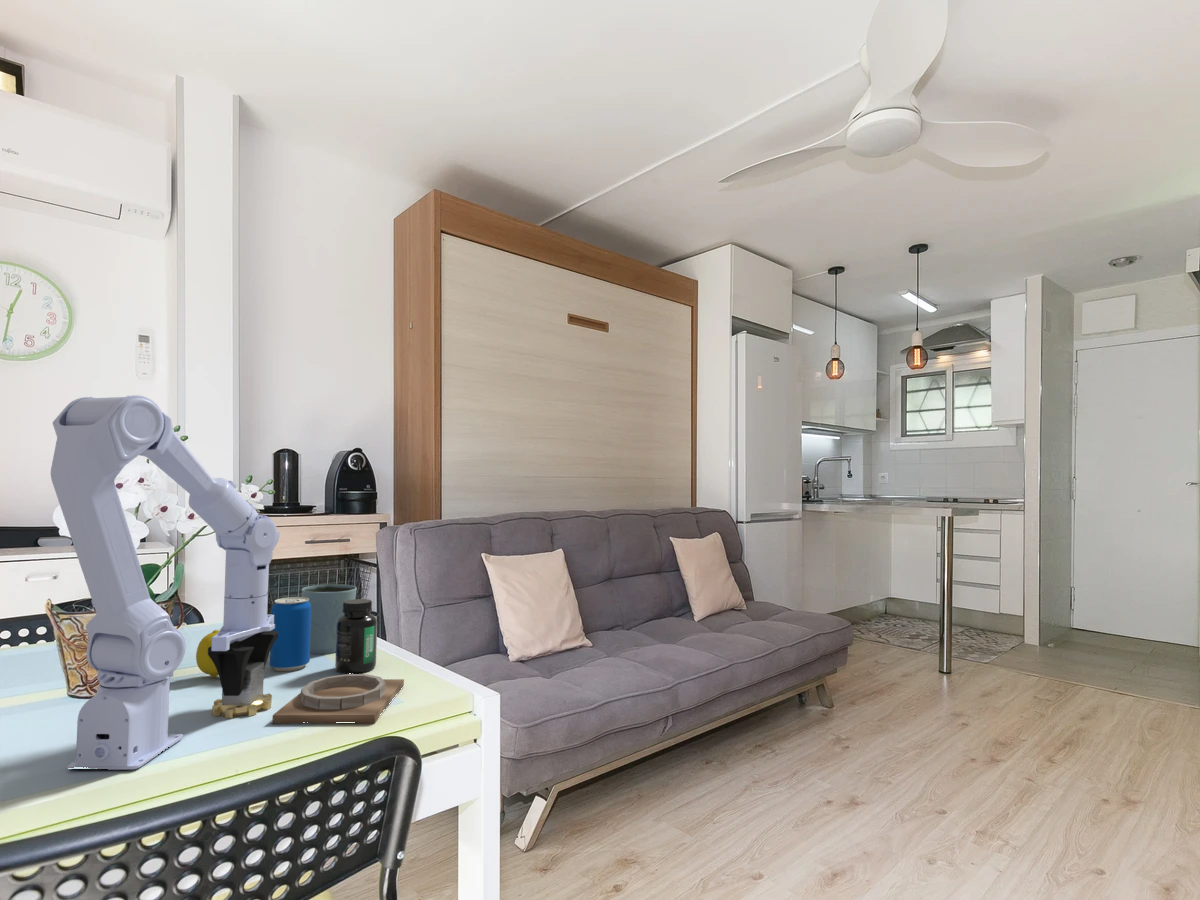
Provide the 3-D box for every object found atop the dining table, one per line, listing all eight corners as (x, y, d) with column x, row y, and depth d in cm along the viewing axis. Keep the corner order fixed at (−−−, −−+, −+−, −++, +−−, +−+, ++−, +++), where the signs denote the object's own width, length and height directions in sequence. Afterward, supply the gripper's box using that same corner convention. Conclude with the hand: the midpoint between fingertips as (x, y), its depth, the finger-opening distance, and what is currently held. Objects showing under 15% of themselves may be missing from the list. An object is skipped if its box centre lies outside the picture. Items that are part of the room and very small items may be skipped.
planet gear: (256, 718, 93) (258, 674, 93) (200, 718, 93) (202, 674, 93) (281, 699, 101) (282, 658, 101) (229, 699, 100) (230, 658, 101)
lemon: (215, 683, 108) (217, 634, 108) (187, 681, 109) (189, 632, 109) (240, 673, 113) (242, 627, 114) (213, 671, 114) (214, 625, 115)
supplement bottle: (379, 671, 116) (380, 603, 116) (337, 676, 112) (339, 606, 113) (372, 661, 122) (374, 596, 122) (333, 666, 118) (334, 599, 119)
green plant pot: (292, 647, 131) (294, 586, 131) (343, 639, 138) (345, 581, 138) (310, 658, 123) (312, 594, 124) (363, 649, 130) (364, 588, 131)
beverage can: (310, 660, 122) (312, 595, 122) (308, 670, 116) (310, 602, 116) (271, 663, 119) (273, 597, 120) (267, 674, 113) (269, 604, 114)
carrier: (374, 723, 92) (375, 703, 92) (272, 723, 91) (273, 704, 91) (403, 686, 108) (404, 670, 108) (317, 686, 107) (317, 670, 107)
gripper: (250, 605, 90) (246, 705, 90) (294, 587, 105) (291, 673, 104) (197, 604, 90) (193, 705, 89) (249, 586, 104) (246, 673, 104)
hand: (243, 688), depth 97 cm, fingers open, 6 cm apart
